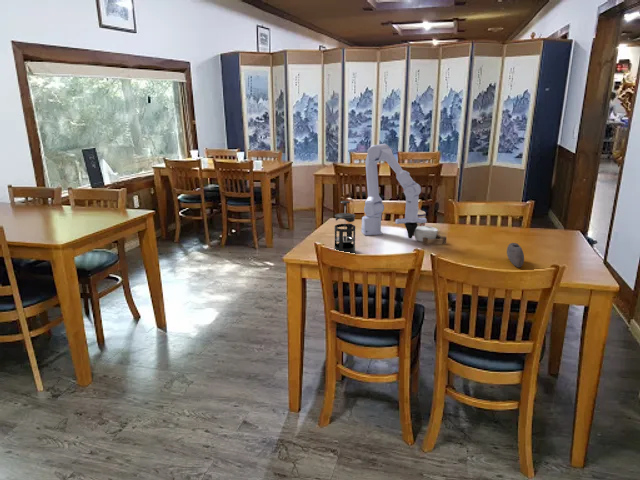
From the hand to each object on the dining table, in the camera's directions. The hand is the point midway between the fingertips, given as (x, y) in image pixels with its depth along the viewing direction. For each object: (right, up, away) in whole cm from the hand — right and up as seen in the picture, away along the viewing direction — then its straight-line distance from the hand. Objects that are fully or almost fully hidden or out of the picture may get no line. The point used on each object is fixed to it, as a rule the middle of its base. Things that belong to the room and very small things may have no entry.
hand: (410, 237), depth 210 cm
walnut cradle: (+9, -1, +2) cm, 9 cm away
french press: (-32, -7, -16) cm, 36 cm away
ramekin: (+7, -1, +1) cm, 8 cm away
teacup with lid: (+7, +5, +20) cm, 22 cm away
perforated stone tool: (+36, -11, -32) cm, 49 cm away
